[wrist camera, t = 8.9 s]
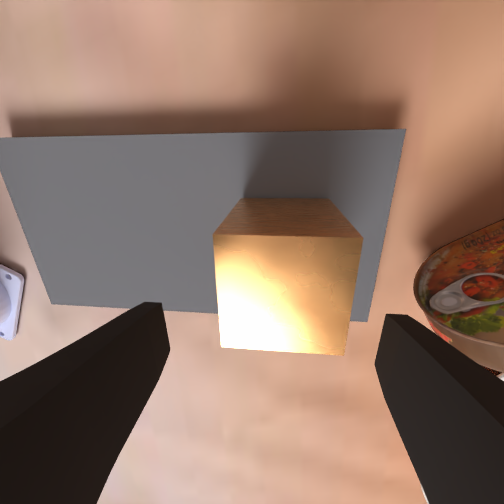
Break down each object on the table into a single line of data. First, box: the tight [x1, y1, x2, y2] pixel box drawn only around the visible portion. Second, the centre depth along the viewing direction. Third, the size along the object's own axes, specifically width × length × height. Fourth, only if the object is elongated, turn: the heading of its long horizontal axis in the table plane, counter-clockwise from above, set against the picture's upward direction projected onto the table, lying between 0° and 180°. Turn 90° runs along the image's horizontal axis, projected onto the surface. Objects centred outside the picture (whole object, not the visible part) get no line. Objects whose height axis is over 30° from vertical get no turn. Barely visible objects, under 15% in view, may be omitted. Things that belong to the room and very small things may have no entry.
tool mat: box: [0, 129, 406, 322], centre depth 15 cm, size 24×12×6 cm, turn 91°
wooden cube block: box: [213, 198, 363, 356], centre depth 12 cm, size 5×5×7 cm
